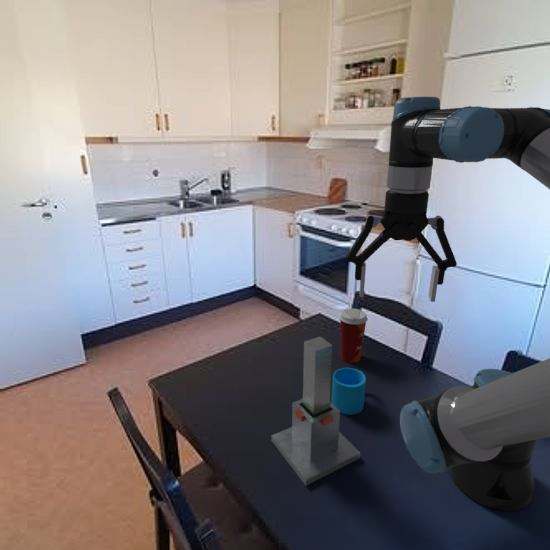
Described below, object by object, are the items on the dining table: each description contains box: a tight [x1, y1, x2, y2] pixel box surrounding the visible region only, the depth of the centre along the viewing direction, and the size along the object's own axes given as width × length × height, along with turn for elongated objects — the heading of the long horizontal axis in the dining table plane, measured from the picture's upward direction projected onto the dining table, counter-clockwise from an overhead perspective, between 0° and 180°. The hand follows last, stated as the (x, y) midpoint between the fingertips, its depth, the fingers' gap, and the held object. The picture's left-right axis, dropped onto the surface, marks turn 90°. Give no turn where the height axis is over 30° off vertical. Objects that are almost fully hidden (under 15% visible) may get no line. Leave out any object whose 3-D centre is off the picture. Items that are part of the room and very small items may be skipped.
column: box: [301, 336, 333, 418], centre depth 82 cm, size 4×4×19 cm
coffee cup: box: [339, 308, 368, 364], centre depth 120 cm, size 8×8×15 cm
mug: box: [331, 367, 367, 416], centre depth 103 cm, size 12×8×8 cm
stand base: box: [270, 398, 361, 487], centre depth 86 cm, size 14×14×12 cm
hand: (396, 296), depth 80 cm, fingers open, 13 cm apart
